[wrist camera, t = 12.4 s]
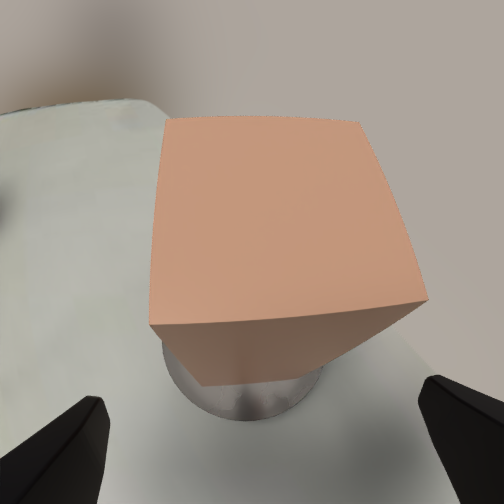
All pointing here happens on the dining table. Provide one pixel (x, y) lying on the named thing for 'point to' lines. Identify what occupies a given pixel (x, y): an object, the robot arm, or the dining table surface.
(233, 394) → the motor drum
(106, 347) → the dining table surface
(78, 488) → the robot arm
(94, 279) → the dining table surface
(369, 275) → the tan rectangular block
